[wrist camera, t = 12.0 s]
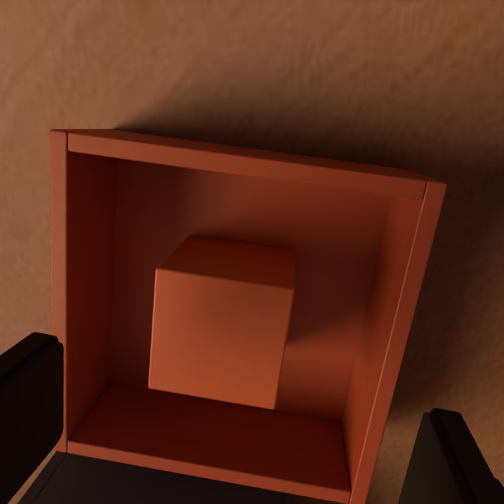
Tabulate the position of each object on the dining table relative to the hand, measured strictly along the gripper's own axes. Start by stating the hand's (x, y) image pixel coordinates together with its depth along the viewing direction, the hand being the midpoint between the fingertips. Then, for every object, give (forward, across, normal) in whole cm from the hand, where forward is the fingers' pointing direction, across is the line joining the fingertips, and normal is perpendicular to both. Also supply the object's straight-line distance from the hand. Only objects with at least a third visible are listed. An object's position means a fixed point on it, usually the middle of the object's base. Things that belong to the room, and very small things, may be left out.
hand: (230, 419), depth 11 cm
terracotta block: (+8, +1, 0) cm, 8 cm away
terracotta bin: (+8, +1, 0) cm, 9 cm away
